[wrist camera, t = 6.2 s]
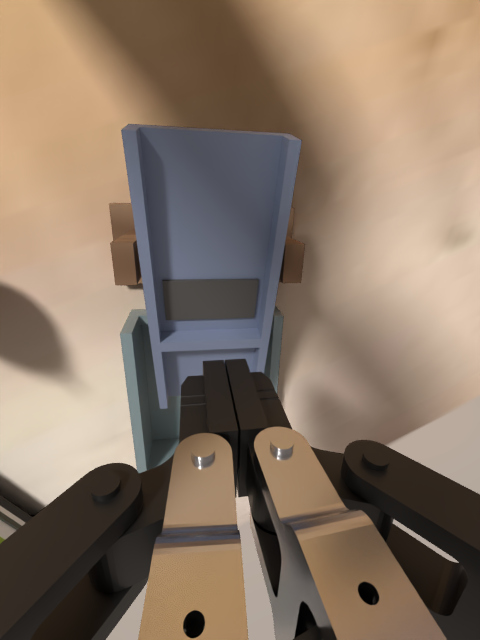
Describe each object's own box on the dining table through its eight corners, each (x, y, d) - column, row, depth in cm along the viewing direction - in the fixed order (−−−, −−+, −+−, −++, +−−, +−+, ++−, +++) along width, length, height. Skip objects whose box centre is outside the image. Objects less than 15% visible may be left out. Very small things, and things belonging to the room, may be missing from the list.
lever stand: (112, 203, 24) (78, 207, 16) (290, 207, 26) (330, 213, 19) (121, 280, 26) (94, 314, 19) (284, 278, 28) (318, 309, 21)
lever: (128, 123, 15) (121, 129, 13) (289, 133, 16) (301, 140, 15) (161, 387, 27) (159, 408, 25) (254, 381, 28) (259, 401, 26)
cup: (131, 309, 27) (120, 333, 22) (276, 306, 29) (292, 327, 24) (145, 443, 33) (138, 485, 28) (266, 433, 34) (278, 470, 30)
